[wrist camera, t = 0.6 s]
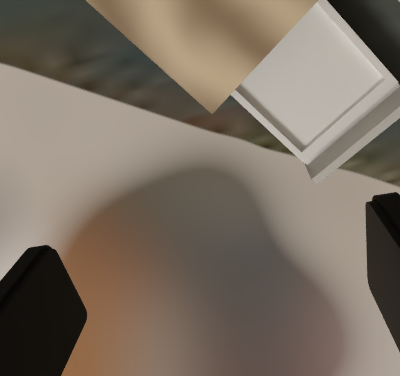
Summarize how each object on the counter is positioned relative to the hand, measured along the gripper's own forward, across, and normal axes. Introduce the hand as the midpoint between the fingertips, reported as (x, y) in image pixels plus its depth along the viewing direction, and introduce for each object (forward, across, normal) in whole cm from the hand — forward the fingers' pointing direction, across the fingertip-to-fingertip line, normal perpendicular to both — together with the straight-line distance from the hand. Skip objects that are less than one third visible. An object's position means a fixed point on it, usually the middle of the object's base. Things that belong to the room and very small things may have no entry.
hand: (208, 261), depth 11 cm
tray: (+26, -7, +1) cm, 27 cm away
